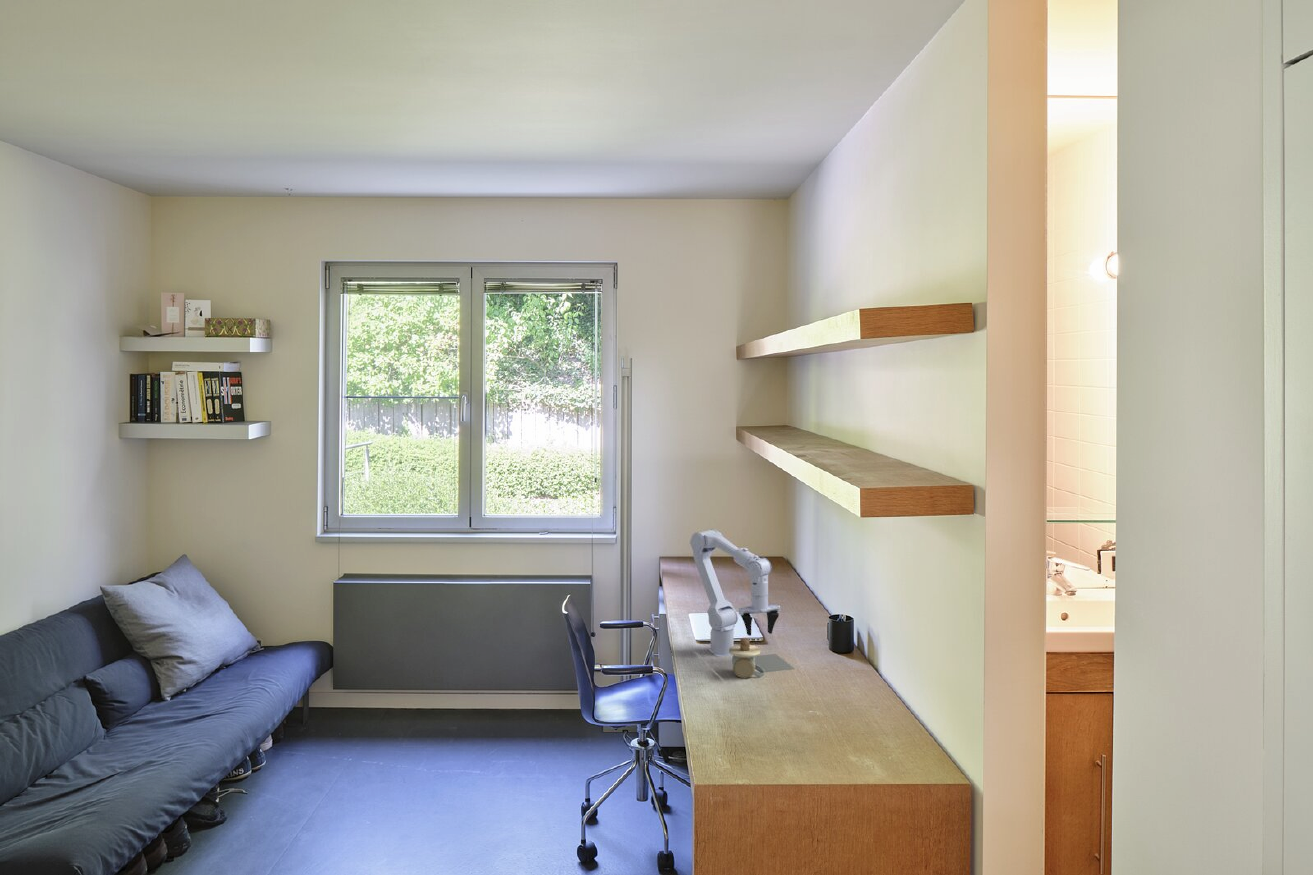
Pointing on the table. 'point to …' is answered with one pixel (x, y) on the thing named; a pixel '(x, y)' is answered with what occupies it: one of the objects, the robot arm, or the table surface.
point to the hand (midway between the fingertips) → (759, 633)
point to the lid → (744, 649)
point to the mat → (772, 663)
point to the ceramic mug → (746, 667)
